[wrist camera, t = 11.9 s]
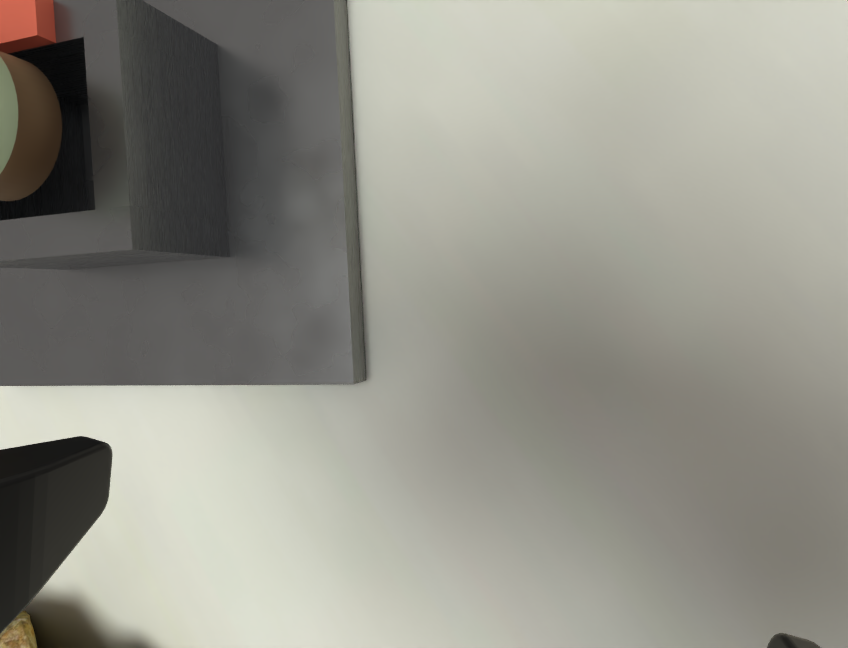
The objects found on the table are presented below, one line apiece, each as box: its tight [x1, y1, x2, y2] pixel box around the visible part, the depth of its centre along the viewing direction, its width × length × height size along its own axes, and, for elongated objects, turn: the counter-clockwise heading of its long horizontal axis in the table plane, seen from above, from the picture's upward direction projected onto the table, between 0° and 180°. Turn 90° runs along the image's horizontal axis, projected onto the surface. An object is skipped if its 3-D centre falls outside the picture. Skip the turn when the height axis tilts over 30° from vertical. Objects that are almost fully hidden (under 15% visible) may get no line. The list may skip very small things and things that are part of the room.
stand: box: [0, 0, 366, 386], centre depth 21 cm, size 16×16×6 cm
